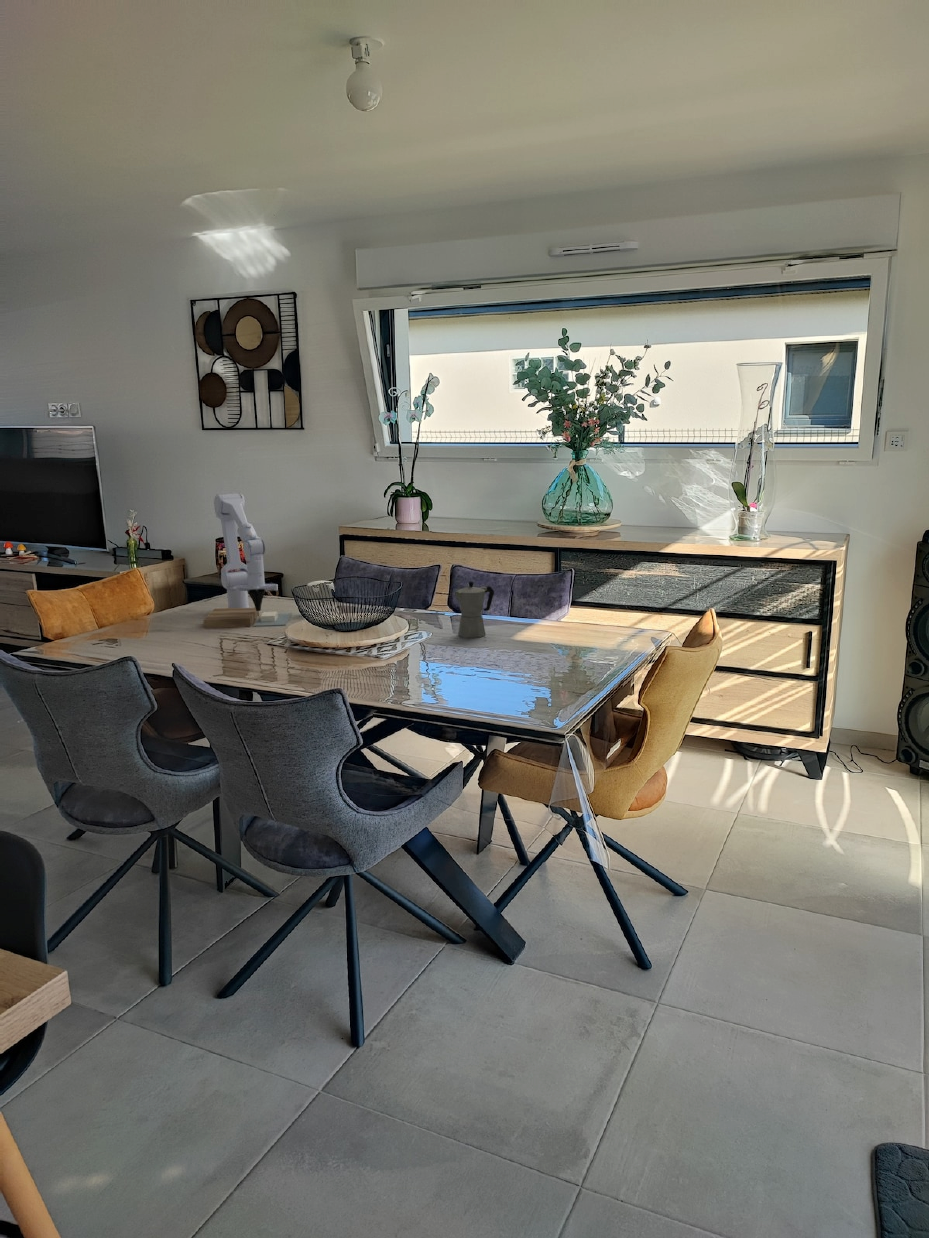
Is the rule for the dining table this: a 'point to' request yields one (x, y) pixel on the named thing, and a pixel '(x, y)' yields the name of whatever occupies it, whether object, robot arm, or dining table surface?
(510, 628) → the dining table surface
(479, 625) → the coffeepot
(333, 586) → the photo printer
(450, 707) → the dining table surface
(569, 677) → the dining table surface
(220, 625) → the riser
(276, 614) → the tile
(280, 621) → the mat
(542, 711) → the dining table surface
